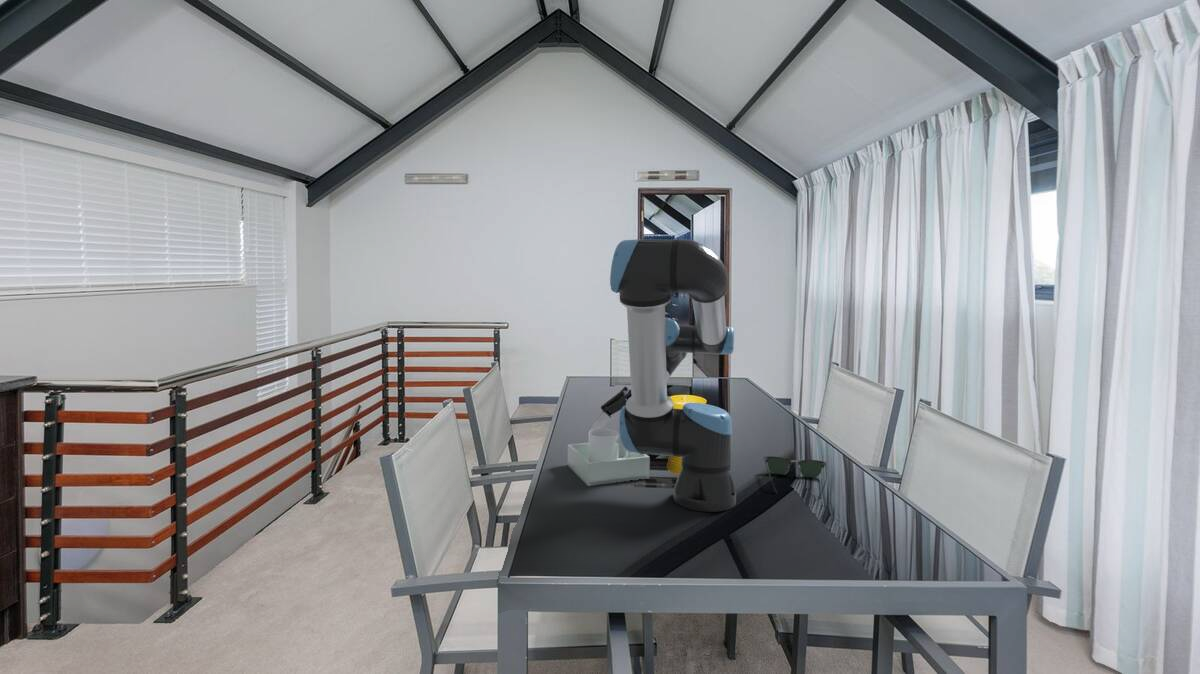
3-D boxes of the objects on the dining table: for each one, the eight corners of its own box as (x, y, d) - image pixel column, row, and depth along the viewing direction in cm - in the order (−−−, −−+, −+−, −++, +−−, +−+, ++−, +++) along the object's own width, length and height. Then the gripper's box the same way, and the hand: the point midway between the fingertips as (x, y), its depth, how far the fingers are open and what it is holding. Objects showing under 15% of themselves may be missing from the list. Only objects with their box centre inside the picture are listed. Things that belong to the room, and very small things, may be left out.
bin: (649, 478, 159) (649, 456, 158) (588, 486, 153) (588, 463, 152) (623, 458, 175) (624, 439, 175) (567, 465, 169) (567, 444, 168)
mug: (631, 464, 167) (632, 429, 166) (630, 474, 159) (631, 437, 157) (589, 463, 168) (590, 427, 167) (586, 473, 160) (587, 436, 158)
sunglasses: (763, 494, 150) (764, 475, 149) (763, 472, 166) (763, 455, 166) (832, 501, 146) (833, 481, 145) (825, 478, 162) (826, 460, 161)
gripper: (685, 396, 160) (639, 458, 154) (633, 381, 181) (591, 435, 175) (670, 378, 157) (622, 441, 151) (619, 365, 178) (575, 420, 172)
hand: (605, 438), depth 163 cm, fingers open, 13 cm apart
